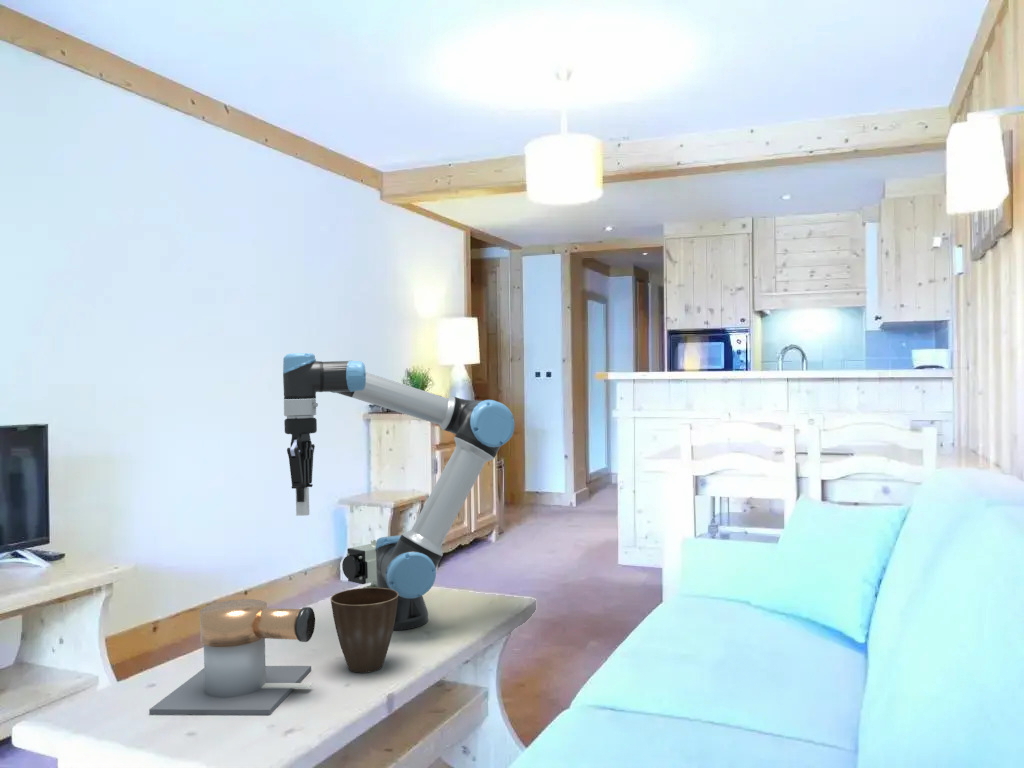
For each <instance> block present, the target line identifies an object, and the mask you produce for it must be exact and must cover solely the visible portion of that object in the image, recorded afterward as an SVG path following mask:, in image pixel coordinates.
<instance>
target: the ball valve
mask: <svg viewBox="0 0 1024 768" xmlns="http://www.w3.org/2000/svg"><path fill="white" fill-rule="evenodd" d="M376 541H377V539H371V540H370V543H368V544H363V545H359V546H354V547H350V548H347V553H346V556H345V557H344V558H343V560H342V565H341V566H342V567H341V568H342V572H343V574H344V576H345V578H347V579H348V582H351V583H355V584H360V585H366V584H369V585H366V586H363V587H362V588H377V567H376V551H375V548H376Z"/></svg>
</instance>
